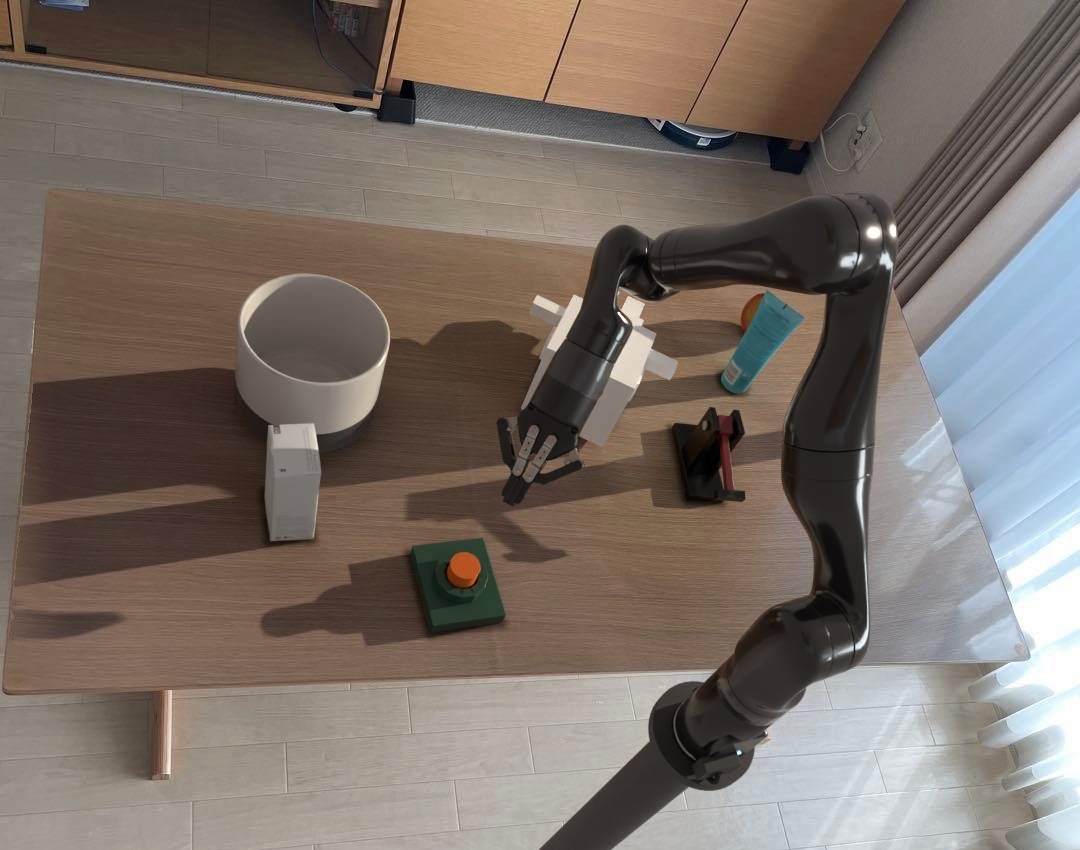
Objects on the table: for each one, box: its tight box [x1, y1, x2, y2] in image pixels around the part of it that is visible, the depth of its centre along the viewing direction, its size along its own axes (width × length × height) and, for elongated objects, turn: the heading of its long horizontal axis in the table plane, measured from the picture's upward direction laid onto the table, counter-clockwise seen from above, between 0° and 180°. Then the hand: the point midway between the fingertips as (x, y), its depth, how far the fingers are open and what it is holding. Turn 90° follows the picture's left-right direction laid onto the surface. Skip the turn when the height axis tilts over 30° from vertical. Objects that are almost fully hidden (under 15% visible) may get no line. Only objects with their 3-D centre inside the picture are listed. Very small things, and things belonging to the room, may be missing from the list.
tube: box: [720, 289, 806, 394], centre depth 164 cm, size 7×5×19 cm, turn 57°
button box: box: [409, 537, 507, 634], centre depth 133 cm, size 12×10×4 cm
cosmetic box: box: [264, 423, 322, 542], centre depth 128 cm, size 8×6×15 cm
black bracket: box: [670, 406, 746, 504], centre depth 154 cm, size 14×6×12 cm, turn 5°
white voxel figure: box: [520, 290, 680, 448], centre depth 158 cm, size 15×25×28 cm
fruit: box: [740, 292, 765, 334], centre depth 177 cm, size 8×8×8 cm
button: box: [446, 552, 480, 588], centre depth 131 cm, size 4×4×3 cm
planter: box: [233, 273, 391, 454], centre depth 136 cm, size 19×19×18 cm
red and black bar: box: [714, 414, 747, 503], centre depth 149 cm, size 13×4×2 cm, turn 6°
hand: (508, 503), depth 129 cm, fingers closed
